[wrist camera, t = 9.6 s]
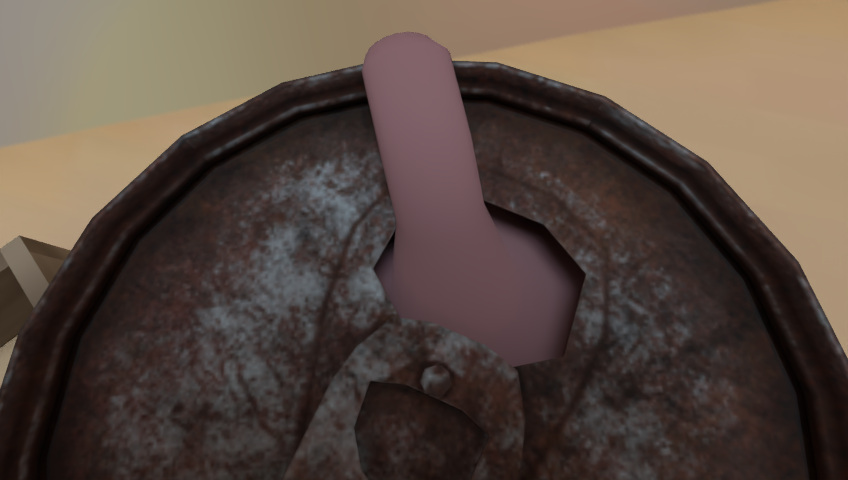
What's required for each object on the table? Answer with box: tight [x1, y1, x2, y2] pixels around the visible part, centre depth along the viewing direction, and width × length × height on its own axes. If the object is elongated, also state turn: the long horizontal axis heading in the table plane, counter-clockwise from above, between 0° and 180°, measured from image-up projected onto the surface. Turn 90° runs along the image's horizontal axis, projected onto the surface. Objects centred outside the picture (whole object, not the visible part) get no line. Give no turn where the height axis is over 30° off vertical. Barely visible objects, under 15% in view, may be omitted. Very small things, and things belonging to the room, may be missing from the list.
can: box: [0, 32, 848, 480], centre depth 9 cm, size 6×6×14 cm
